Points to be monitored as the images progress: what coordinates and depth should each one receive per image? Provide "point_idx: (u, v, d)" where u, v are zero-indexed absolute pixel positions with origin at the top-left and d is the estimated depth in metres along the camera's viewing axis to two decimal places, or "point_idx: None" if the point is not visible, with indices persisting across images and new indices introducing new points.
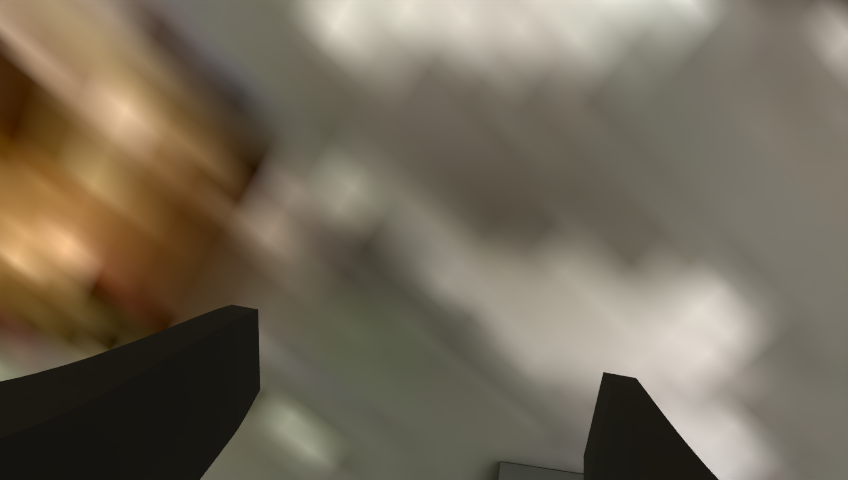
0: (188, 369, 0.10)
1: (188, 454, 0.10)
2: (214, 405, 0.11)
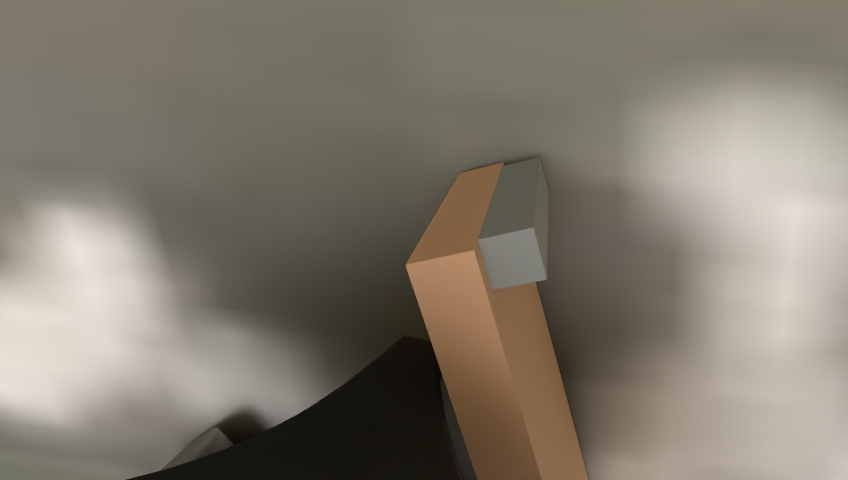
0: None
1: None
2: None
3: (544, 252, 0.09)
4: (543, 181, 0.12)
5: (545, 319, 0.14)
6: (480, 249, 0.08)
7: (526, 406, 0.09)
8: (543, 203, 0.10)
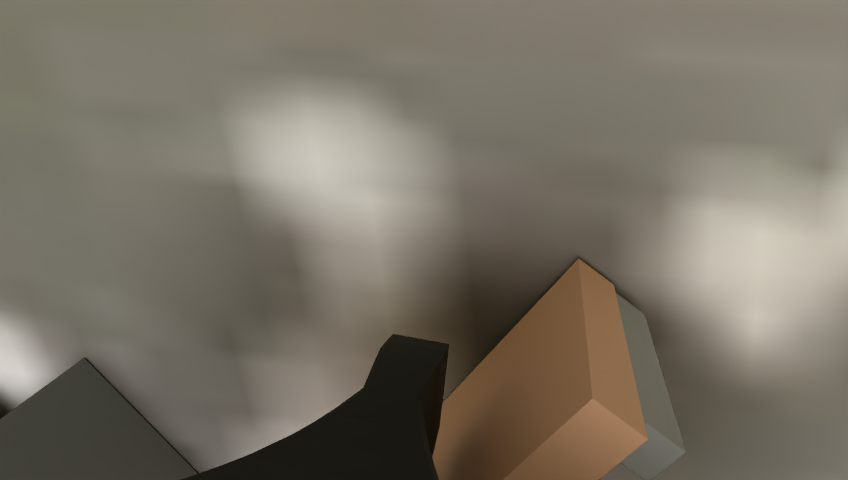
0: None
1: None
2: None
3: None
4: None
5: None
6: None
7: None
8: None
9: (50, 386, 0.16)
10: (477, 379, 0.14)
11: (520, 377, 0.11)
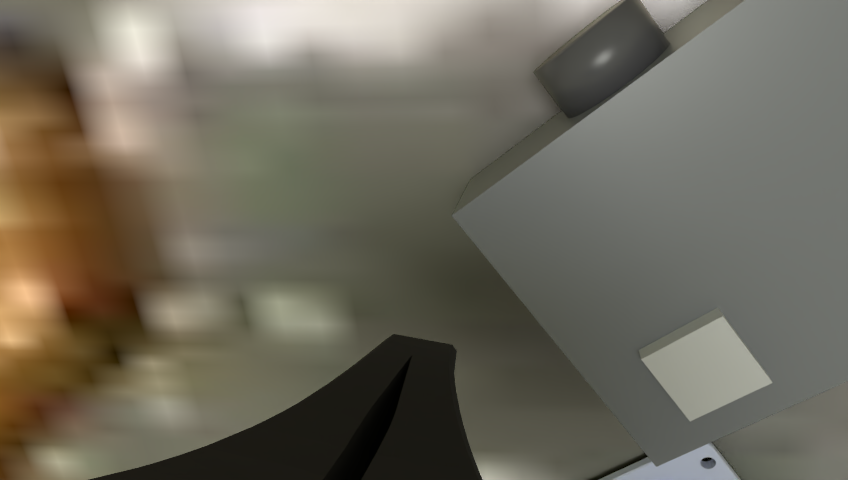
0: (386, 409, 0.09)
1: None
2: None
3: None
4: None
5: None
6: None
7: None
8: None
9: None
10: None
11: None
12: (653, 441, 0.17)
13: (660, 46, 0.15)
